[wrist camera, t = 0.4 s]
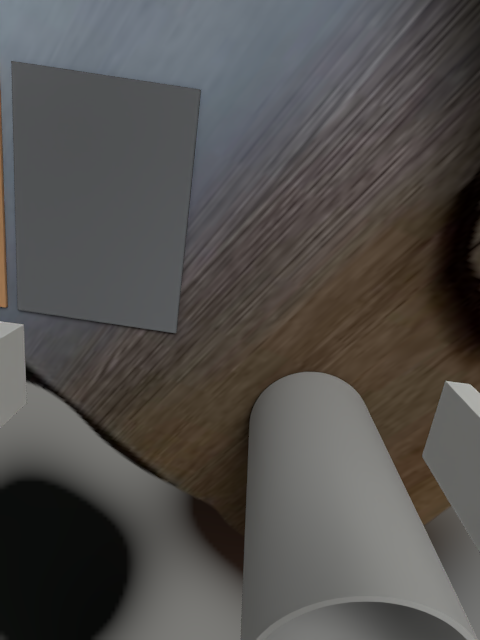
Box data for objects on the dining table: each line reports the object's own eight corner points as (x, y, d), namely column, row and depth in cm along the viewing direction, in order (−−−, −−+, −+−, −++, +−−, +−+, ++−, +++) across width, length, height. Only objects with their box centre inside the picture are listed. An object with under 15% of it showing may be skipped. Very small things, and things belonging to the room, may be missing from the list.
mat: (14, 62, 36) (11, 61, 35) (200, 90, 36) (200, 89, 35) (19, 308, 42) (17, 309, 42) (176, 331, 42) (175, 333, 42)
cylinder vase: (342, 350, 42) (449, 564, 19) (383, 448, 46) (517, 736, 22) (230, 394, 44) (197, 637, 21) (276, 485, 48) (294, 784, 24)
